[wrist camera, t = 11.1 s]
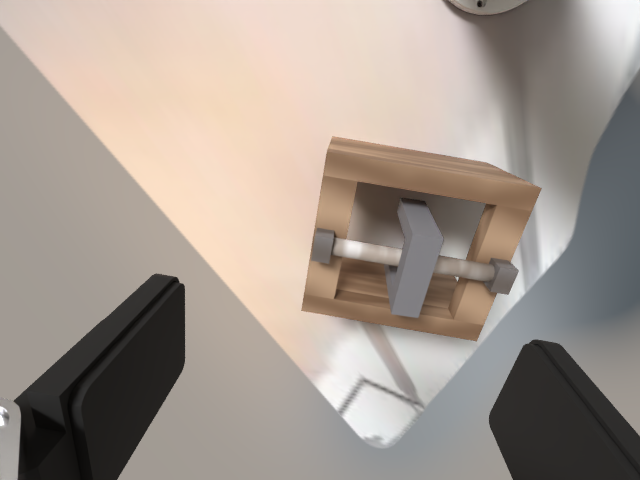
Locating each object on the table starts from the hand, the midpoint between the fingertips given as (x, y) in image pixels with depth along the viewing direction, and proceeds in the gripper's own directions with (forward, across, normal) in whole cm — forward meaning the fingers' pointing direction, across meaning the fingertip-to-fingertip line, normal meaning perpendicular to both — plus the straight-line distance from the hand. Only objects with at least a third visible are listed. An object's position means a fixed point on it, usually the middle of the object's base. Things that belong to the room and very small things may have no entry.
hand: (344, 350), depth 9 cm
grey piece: (+26, -7, +6) cm, 27 cm away
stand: (+33, -7, +6) cm, 35 cm away
